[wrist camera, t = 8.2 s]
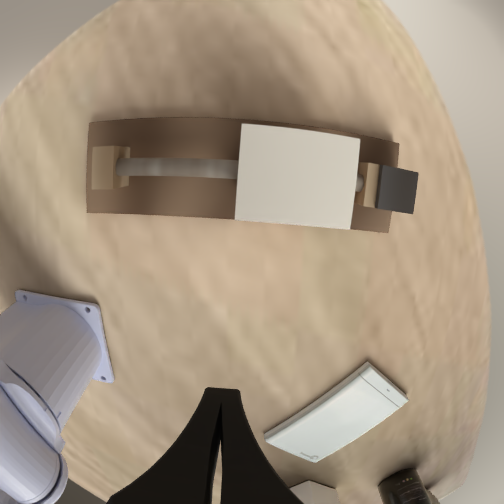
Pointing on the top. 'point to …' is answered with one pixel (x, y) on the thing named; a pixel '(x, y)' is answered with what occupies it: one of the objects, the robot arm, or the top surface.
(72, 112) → the top surface
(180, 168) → the cord rail
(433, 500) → the cream barrel-shaped cylinder
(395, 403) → the hard drive
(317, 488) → the milk carton
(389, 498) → the supplement bottle
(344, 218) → the white rounded cube
